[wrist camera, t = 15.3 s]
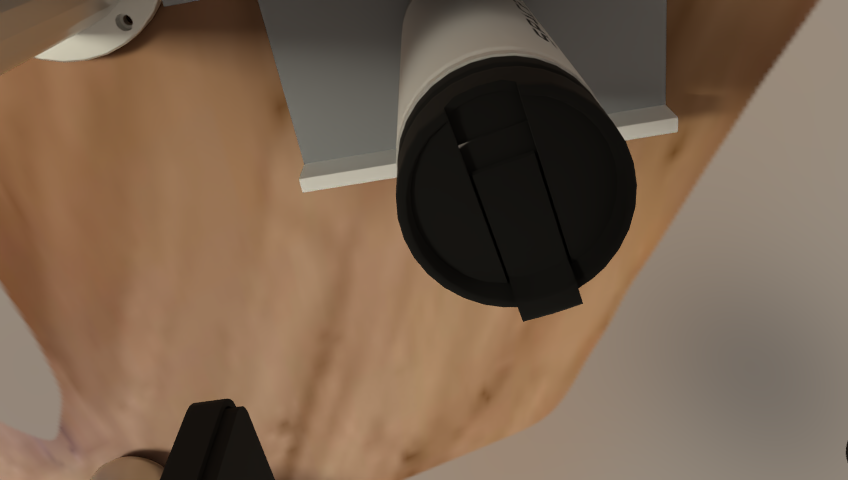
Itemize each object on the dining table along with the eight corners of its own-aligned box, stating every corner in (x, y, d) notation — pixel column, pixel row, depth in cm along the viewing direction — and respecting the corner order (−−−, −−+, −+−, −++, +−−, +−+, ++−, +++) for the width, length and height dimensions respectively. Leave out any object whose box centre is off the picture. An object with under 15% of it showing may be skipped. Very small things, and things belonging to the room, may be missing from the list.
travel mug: (429, 113, 36) (447, 352, 19) (383, -7, 33) (352, 145, 16) (541, 73, 35) (669, 284, 18) (504, -56, 32) (615, 49, 15)
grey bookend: (313, 167, 40) (269, 305, 28) (246, -76, 33) (150, -33, 21) (654, 111, 38) (764, 231, 26) (654, -155, 32) (801, -157, 20)
